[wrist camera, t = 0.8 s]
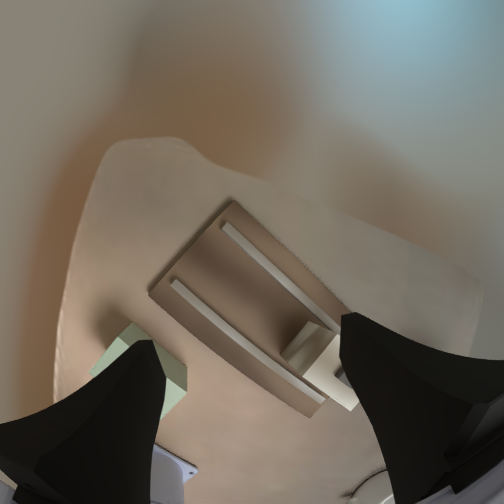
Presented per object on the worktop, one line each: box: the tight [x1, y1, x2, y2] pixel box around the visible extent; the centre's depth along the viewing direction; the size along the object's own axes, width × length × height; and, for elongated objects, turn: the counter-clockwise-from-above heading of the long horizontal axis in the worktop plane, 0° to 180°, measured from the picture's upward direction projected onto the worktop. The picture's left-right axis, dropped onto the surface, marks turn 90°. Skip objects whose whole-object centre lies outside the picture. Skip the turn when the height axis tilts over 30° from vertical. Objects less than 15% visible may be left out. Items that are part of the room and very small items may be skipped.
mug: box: [347, 471, 395, 504], centre depth 27 cm, size 12×10×6 cm
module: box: [89, 322, 187, 420], centre depth 22 cm, size 4×7×7 cm, turn 48°
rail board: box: [148, 200, 359, 418], centre depth 24 cm, size 12×22×8 cm, turn 48°
